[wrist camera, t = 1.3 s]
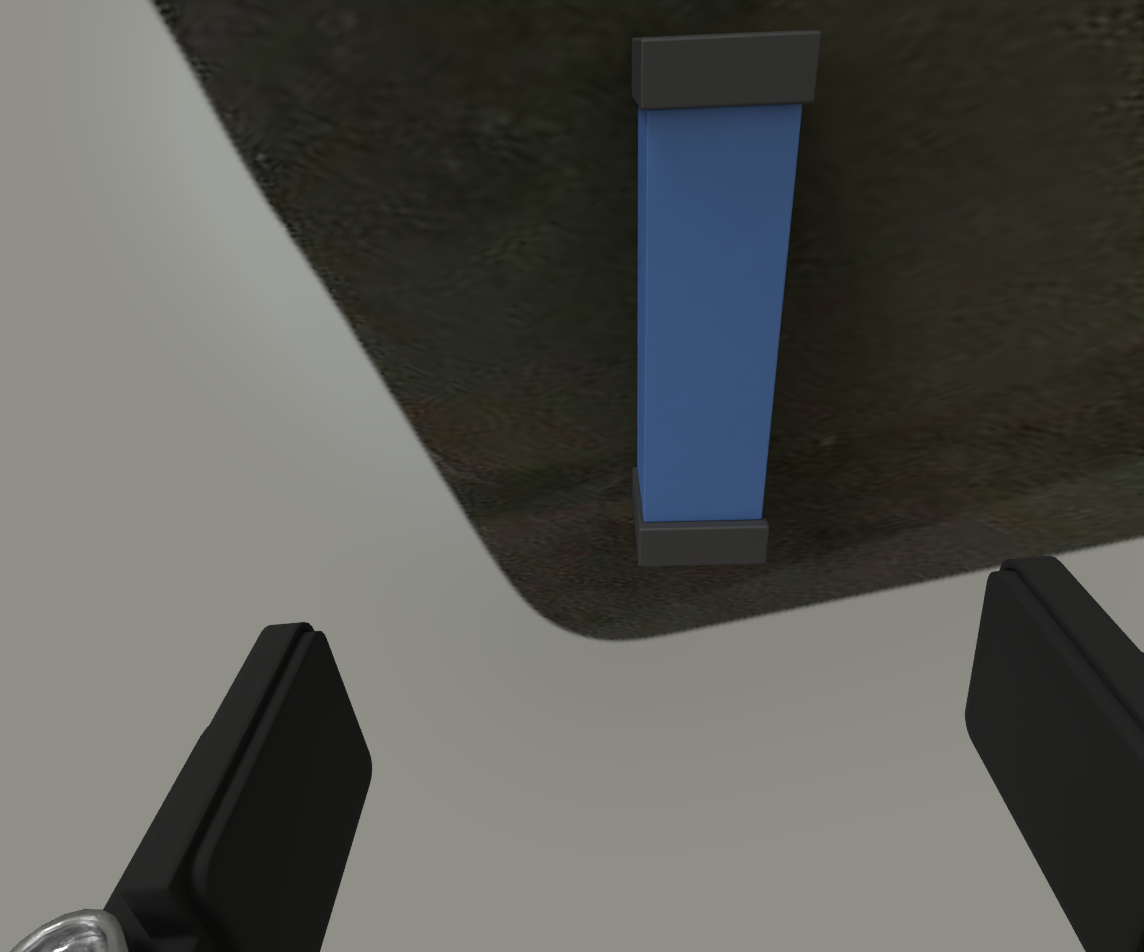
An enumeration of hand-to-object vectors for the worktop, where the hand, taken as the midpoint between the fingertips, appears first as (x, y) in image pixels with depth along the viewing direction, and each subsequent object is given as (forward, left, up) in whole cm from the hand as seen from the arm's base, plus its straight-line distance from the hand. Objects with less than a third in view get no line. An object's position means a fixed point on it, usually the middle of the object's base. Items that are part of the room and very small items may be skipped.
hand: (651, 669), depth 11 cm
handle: (+2, +1, -18) cm, 18 cm away
